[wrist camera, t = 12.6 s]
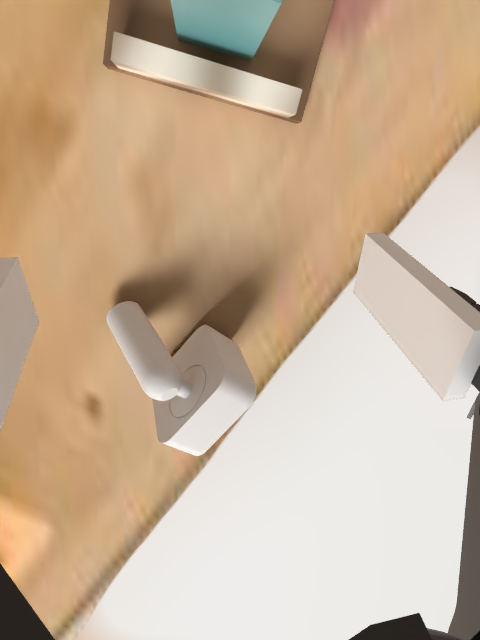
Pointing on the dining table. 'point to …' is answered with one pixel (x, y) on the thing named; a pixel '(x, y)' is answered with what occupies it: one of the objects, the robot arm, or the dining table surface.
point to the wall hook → (185, 379)
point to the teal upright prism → (224, 24)
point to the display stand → (222, 56)
